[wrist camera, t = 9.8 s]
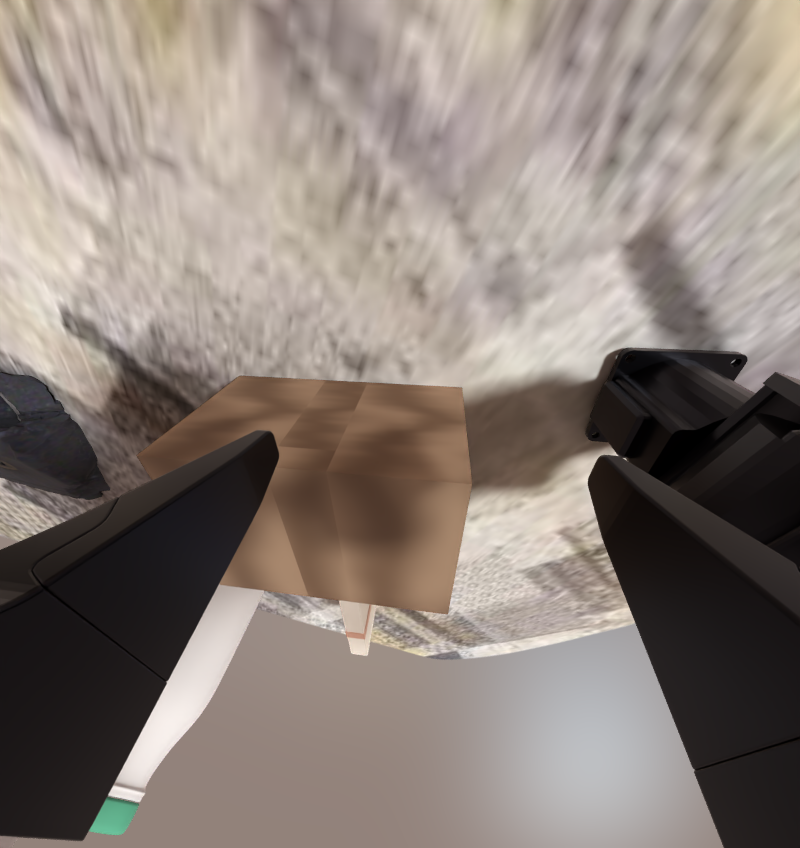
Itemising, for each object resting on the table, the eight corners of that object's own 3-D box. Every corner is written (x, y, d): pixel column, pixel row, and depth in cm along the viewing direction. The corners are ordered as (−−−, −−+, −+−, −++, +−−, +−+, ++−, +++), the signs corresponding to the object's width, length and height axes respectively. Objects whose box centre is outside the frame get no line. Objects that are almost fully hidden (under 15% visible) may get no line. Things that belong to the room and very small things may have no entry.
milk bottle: (206, 547, 36) (11, 817, 20) (268, 562, 37) (126, 842, 20) (214, 578, 41) (60, 821, 24) (270, 592, 41) (154, 841, 25)
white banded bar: (370, 515, 29) (355, 578, 24) (377, 598, 38) (367, 656, 33) (351, 513, 29) (331, 575, 24) (363, 596, 38) (350, 654, 33)
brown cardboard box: (462, 387, 20) (472, 484, 13) (446, 510, 27) (447, 618, 20) (239, 375, 22) (136, 455, 15) (279, 495, 29) (223, 589, 22)
